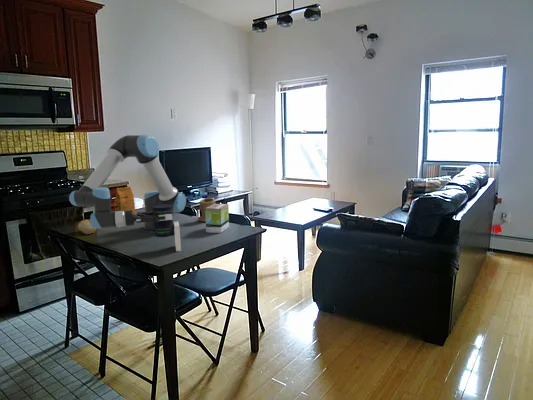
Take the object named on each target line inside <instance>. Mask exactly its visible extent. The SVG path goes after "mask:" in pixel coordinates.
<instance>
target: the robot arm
mask: <svg viewBox="0 0 533 400" xmlns="http://www.w3.org/2000/svg"><path fill="white" fill-rule="evenodd" d="M159 147H160V146H159V142H158V141H157V139H156V138H155V137H154V136H152V135H149V134H141V135H138V134H137V135H135V134H134V135H133V134H132V135H124V136H122V137H120V138H119V139H118V140H116V141H114V143H112V144H111V146H110V147H109V148H108V149H107V150H106V151H107V152H106V153H107V154H106V155H105V157H104V158H103V159H102V160H100V163H99V164H98V165H97V166H96V168H95V169H94V170H93V171H92V173H91V174H90V175H89V177H88V178H86V179H87V180H85V182H84V183H83V184H82V185H81V187H80V188H79V190H73V191H72V192H70V194H69V197H68V200H69V202H70V203H71V205H72V206H75V207H89V208H93V209H94V212H93V213H91V214H90V220H91V226H92V227H93V228H96V229H108V228H116V227H117V228H119V229H120V228H121V227H125V226H126V227H130V226H132V227H133V226H134V225H135V222H136V224H139V223H143V229H144V230H146V231H154V222H157V223H158V222H159V221H163V220H173V221H174V218H173V219H172V214H166V215H158V216H159V217H158V216H153V208H152V206H154V205H158V204H172V208H173V214H174V213H181V212H182V211H184V209H185V207H186V202H187V198H186V195H185V193H182V192H179V191H178V189H177V188H176V187H174V186H173V185H172V183H171V181H170V178H169V177H168V175H167V173H166V171H165V170H164V167H163V166H162V163H161V162H160V160H159V158H158V157H159V152H160V148H159ZM127 158H136V161H137V162H138V163H139V164H141V165H143V167H144V168H145V170H146V172H147V174H148V176H149V178H150V179H151V181H152V183H153V184H154V187H155V188H156V190H152V191H148V192H147V191H146V192H145V193H144V196H143V197H144V199H143V200H144V211H139V212H137V213H135V214H134V212H133V210H129V211H125V212H124V211H115V210H114V211H112V201H111V194H110V193H111V191H110V189H109V188H108V187H106V186H103V185H104V184H105V183H106V181H107V180H108V179H109V177H110V176H111V175H112V173H113V172H114V170H115V169H116V168H117V167H118V165H119V164H120V163H122V162H124V161H125V160H126V159H127Z"/></svg>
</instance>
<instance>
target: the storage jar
mask: <svg viewBox="0 0 533 400" xmlns="http://www.w3.org/2000/svg"><path fill="white" fill-rule="evenodd" d="M152 208H153V216H158V215H166V214H172V219H173V220H163V221H159V222H158V223H157V222H154V230H153V231H154V232H153V233H154V237H155V238H168V237H173V236H175V234H174V217H173V216H174V213H173V208H172V204H158V205H154V206H152ZM158 217H159V216H158Z"/></svg>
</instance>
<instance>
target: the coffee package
mask: <svg viewBox="0 0 533 400" xmlns="http://www.w3.org/2000/svg"><path fill="white" fill-rule="evenodd" d="M129 210H133V212H134V214H136V205H135V197H134V193H133V191H132V187H131V186H130V185H129V186H125V187H116V196H115V197H114V212H115V211H124V212H125V211H129Z"/></svg>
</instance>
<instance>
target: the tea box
mask: <svg viewBox="0 0 533 400" xmlns="http://www.w3.org/2000/svg"><path fill="white" fill-rule="evenodd" d="M205 212H206V221H205V232H206V233H211V234H213V233H216V234H221V233H223V232H224V231H225V230H226V229H228V228H230V217H229V214H230V213H229V204H228V203H225V204H224V203H216V204H213V205H211V206H209V207H207V208H205Z"/></svg>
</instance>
